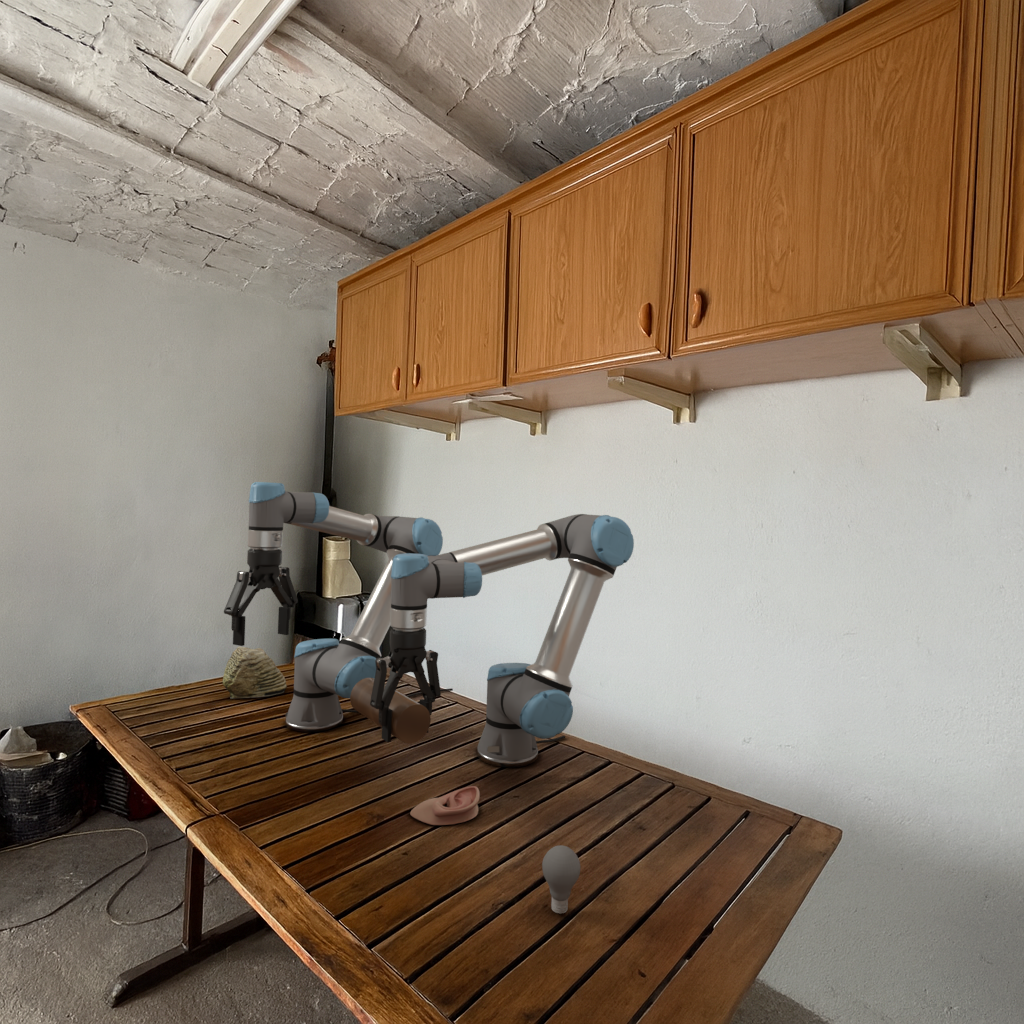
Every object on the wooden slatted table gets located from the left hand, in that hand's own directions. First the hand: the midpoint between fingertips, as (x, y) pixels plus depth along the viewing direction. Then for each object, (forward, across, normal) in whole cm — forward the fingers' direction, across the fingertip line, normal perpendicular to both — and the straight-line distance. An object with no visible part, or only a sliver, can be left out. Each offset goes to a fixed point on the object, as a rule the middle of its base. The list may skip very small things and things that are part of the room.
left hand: (261, 639), depth 148 cm
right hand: (+15, +1, -40) cm, 42 cm away
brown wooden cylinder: (+16, +5, -33) cm, 37 cm away
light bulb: (+29, -18, -81) cm, 88 cm away
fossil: (+29, +37, +39) cm, 62 cm away
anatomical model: (+29, +1, -50) cm, 58 cm away
